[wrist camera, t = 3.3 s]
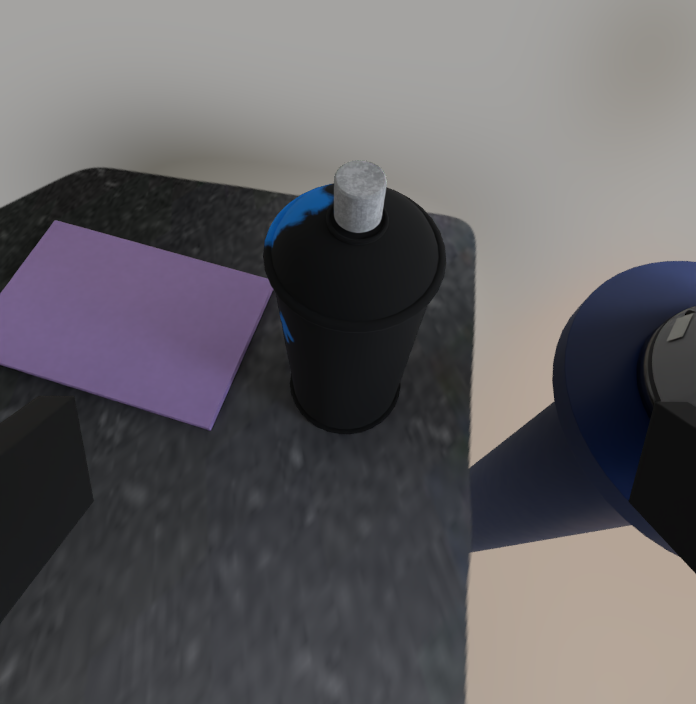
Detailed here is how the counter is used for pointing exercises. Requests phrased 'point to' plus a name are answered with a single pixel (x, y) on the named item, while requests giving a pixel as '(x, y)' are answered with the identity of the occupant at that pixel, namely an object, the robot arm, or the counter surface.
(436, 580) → the counter surface
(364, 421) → the aerosol can
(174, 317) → the towel
